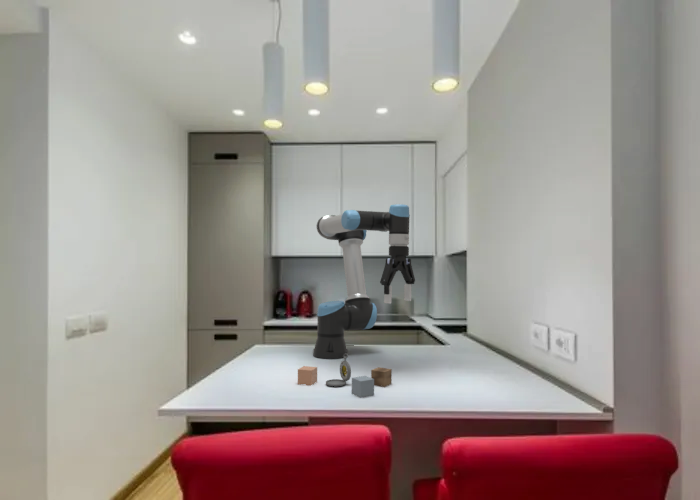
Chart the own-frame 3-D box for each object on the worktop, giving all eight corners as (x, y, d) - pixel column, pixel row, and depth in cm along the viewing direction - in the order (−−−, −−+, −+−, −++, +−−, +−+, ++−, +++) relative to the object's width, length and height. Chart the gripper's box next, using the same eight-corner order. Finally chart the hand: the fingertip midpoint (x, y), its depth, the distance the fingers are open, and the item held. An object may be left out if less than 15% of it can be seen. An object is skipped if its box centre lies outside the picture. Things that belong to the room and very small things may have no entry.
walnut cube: (371, 385, 150) (371, 370, 150) (378, 381, 154) (378, 367, 154) (384, 387, 147) (384, 372, 147) (391, 384, 151) (391, 369, 151)
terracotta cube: (297, 384, 150) (297, 369, 150) (303, 380, 155) (303, 366, 155) (311, 385, 148) (311, 370, 148) (317, 381, 153) (317, 367, 153)
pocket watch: (322, 385, 148) (322, 355, 148) (334, 380, 155) (335, 350, 156) (343, 389, 144) (344, 357, 144) (355, 383, 152) (356, 353, 152)
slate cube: (351, 393, 140) (351, 377, 140) (364, 391, 142) (364, 375, 142) (360, 398, 135) (360, 381, 136) (374, 395, 138) (374, 379, 138)
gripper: (388, 244, 157) (387, 305, 157) (424, 246, 177) (423, 300, 177) (371, 244, 162) (370, 303, 162) (408, 246, 182) (407, 299, 181)
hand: (398, 302), depth 169 cm, fingers open, 13 cm apart
